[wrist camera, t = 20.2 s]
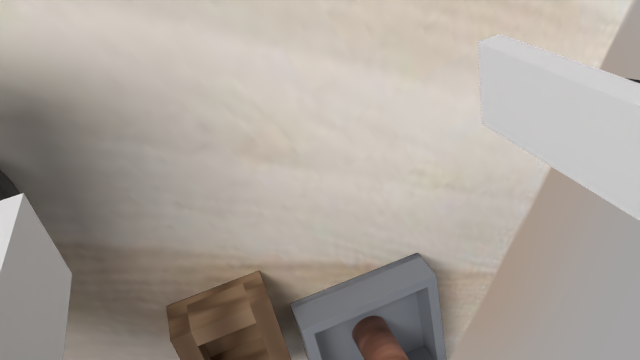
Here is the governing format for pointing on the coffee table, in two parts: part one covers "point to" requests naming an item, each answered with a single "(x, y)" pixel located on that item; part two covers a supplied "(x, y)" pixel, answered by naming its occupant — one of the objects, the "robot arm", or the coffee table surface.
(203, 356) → the socket block
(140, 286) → the coffee table surface
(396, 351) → the dowel
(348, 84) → the coffee table surface
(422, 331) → the tray
